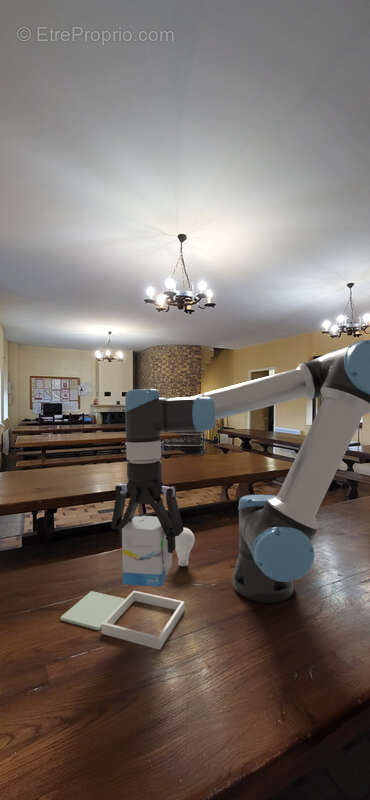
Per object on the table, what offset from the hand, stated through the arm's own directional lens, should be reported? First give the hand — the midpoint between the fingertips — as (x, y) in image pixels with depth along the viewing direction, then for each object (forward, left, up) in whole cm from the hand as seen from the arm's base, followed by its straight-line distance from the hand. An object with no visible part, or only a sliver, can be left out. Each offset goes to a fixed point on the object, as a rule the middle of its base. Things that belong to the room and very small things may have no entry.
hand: (147, 563), depth 74 cm
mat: (+13, +1, -12) cm, 18 cm away
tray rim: (+1, 0, -12) cm, 12 cm away
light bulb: (+2, -26, -13) cm, 29 cm away
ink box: (0, 0, -3) cm, 3 cm away
